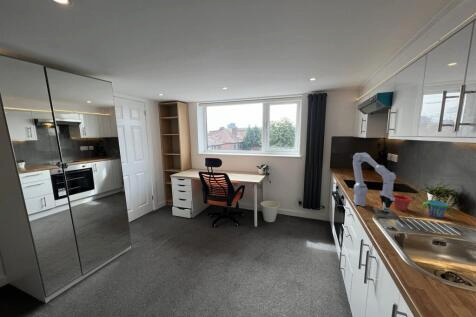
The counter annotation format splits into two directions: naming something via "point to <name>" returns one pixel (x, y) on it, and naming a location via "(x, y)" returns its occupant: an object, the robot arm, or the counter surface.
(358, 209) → the counter surface
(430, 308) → the counter surface
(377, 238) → the counter surface
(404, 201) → the flower pot
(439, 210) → the snack cup
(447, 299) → the counter surface
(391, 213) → the collar
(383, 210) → the column
